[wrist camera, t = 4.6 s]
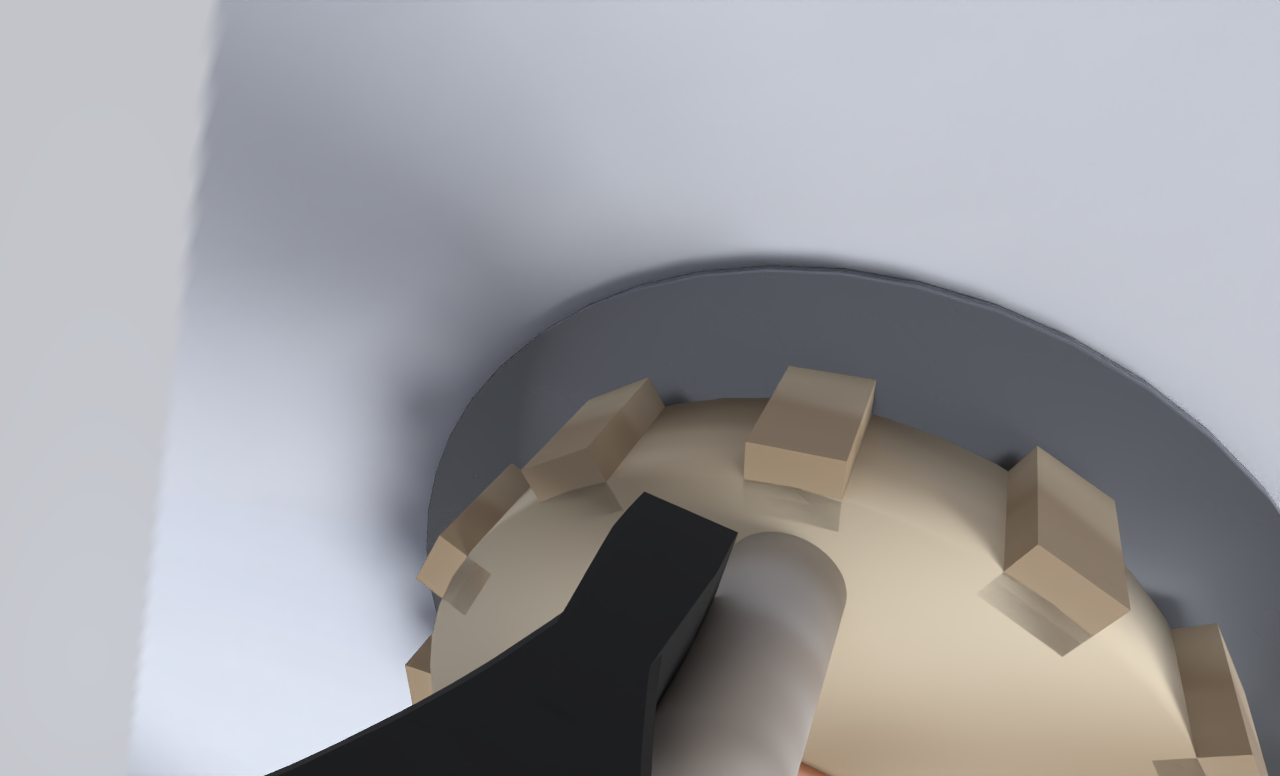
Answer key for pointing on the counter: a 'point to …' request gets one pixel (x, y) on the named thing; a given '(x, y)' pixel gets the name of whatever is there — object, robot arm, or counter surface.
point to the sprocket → (853, 597)
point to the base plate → (918, 420)
